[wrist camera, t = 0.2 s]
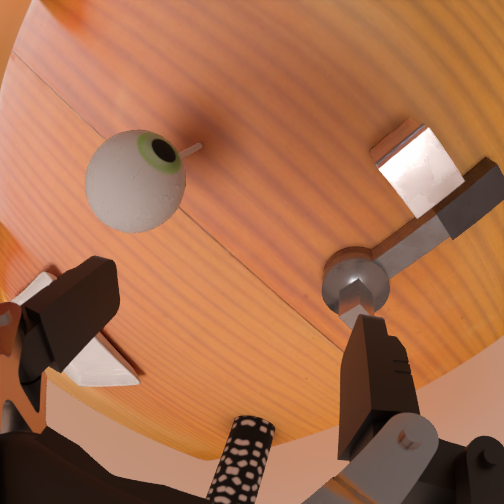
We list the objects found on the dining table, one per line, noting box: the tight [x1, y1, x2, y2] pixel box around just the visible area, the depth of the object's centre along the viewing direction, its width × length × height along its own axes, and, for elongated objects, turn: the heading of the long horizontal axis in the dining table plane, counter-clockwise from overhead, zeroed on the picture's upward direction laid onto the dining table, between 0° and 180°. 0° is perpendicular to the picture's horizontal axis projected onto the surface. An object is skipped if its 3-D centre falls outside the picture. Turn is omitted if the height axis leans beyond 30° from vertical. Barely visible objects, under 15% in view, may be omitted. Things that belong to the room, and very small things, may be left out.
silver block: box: [369, 118, 465, 219], centre depth 22 cm, size 5×5×6 cm
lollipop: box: [85, 130, 202, 233], centre depth 23 cm, size 7×7×15 cm
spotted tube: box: [206, 416, 275, 504], centre depth 46 cm, size 8×8×20 cm
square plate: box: [10, 271, 141, 387], centre depth 54 cm, size 27×27×4 cm
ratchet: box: [322, 157, 504, 330], centre depth 25 cm, size 22×7×7 cm, turn 138°
